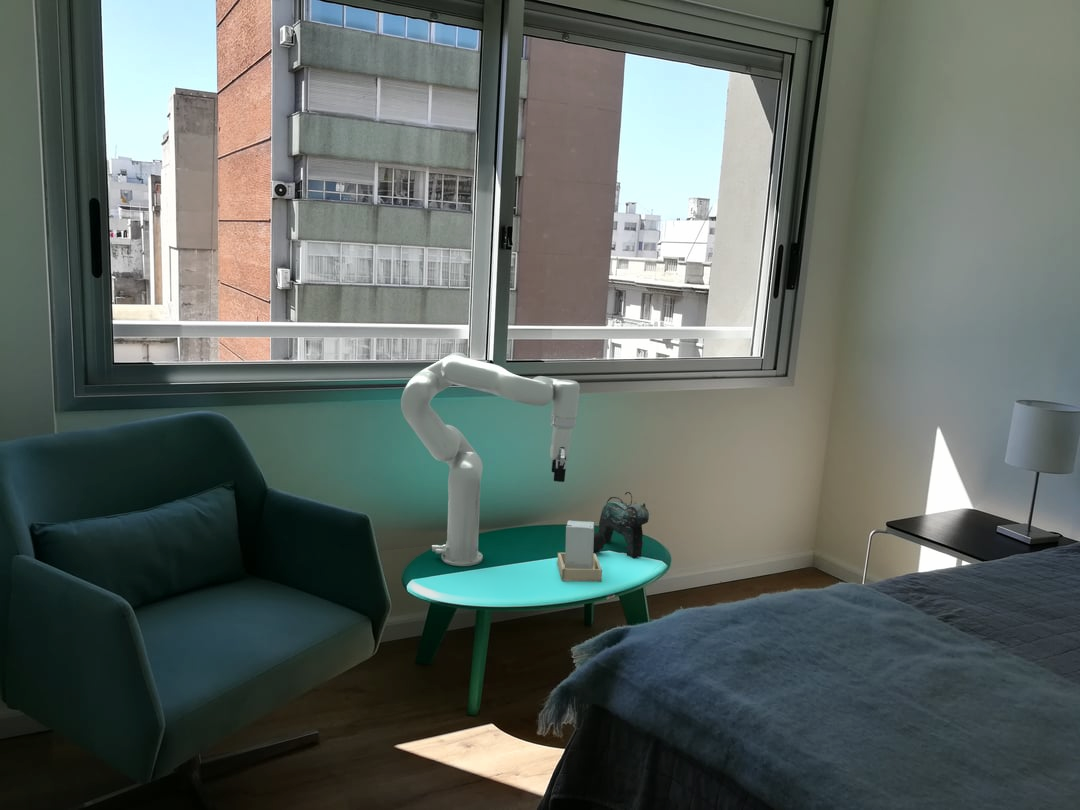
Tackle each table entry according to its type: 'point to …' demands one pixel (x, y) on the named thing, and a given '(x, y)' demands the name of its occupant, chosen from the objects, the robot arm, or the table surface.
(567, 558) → the skincare box
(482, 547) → the table surface
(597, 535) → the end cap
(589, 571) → the holder
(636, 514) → the ceramic cat
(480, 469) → the robot arm
